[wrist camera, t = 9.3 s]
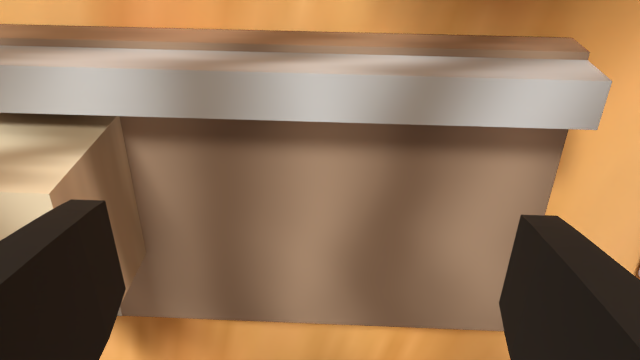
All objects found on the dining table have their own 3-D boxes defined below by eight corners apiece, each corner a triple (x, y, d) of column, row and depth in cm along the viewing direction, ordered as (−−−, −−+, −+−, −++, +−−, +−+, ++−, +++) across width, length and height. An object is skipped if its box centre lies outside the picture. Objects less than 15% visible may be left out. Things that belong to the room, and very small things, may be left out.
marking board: (572, 37, 18) (614, 72, 15) (503, 305, 24) (524, 366, 21) (-81, 22, 18) (-159, 53, 16) (17, 286, 25) (-26, 342, 22)
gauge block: (118, 113, 18) (48, 193, 14) (153, 291, 22) (107, 395, 18) (2, 110, 18) (-103, 188, 14) (58, 287, 22) (-10, 389, 18)
